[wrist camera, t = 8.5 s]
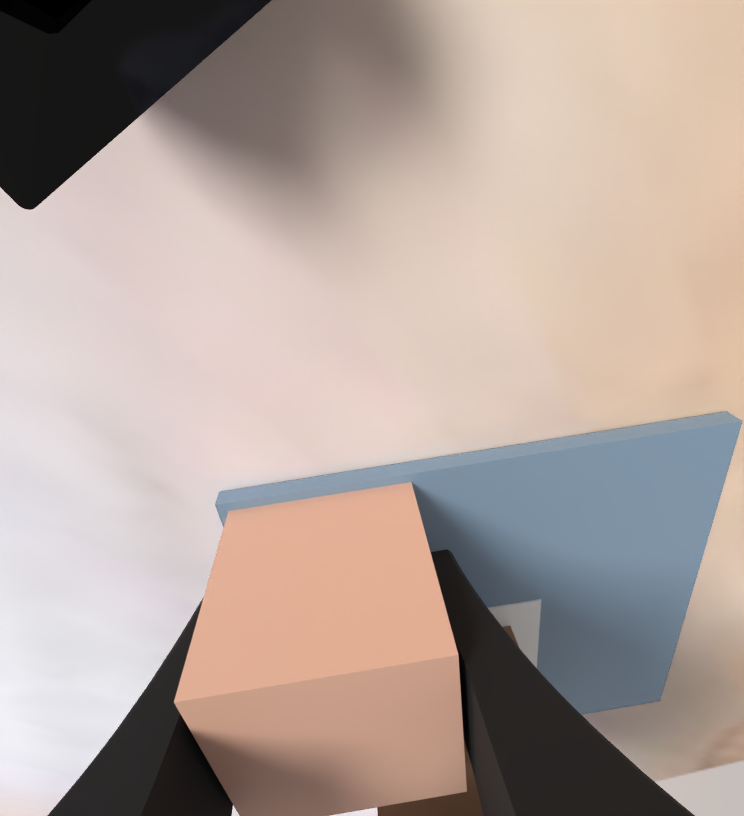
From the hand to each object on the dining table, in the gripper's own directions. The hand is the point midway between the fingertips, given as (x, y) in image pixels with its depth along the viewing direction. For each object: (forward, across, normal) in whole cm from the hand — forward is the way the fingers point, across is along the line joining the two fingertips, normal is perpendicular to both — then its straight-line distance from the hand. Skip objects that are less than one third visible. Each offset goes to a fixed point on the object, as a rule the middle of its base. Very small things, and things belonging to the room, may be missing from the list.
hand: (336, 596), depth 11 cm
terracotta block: (+1, 0, 0) cm, 1 cm away
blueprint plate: (+2, -4, +4) cm, 6 cm away
